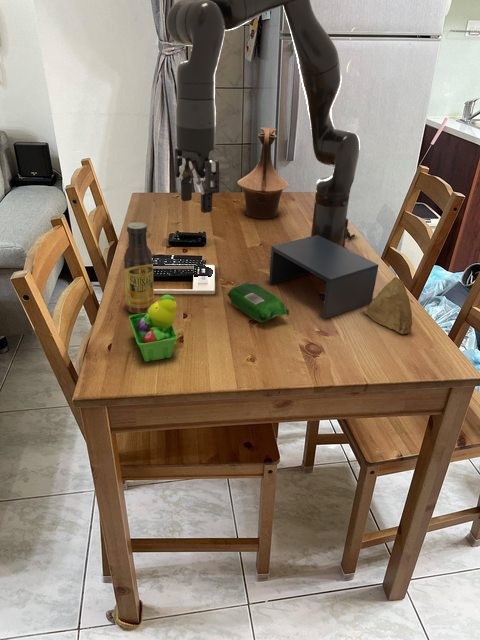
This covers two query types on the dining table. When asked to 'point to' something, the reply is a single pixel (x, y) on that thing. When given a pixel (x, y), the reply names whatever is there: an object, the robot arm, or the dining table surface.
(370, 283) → the open shelf stand
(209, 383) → the dining table surface
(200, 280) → the photo frame
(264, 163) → the brown cone topped pot
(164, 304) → the fruit basket
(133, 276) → the sauce bottle
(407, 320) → the rock
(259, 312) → the snack package
